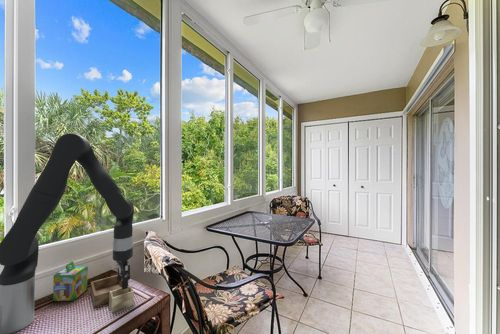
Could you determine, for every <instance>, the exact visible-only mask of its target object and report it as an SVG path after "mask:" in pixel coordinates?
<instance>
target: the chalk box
mask: <svg viewBox="0 0 500 334" xmlns="http://www.w3.org/2000/svg"><path fill="white" fill-rule="evenodd" d="M88 270H89V267H88V265H87V266H84V265H83V266H82V265H75V262H74V260H73V261H72V260H71V261H70V262H68V263H67V264H66V265H65V268H63V269H61V270H60V271H58V272H56V273H55V274H53V287H52V288H53V289H52V290H53V291H52V292H53V293H52V301H53V302H70V301H71V302H73V301H76V300H77V299H78V298H79V297H80V296H81V295H83V293H85V292H86V291H88V276H89V275H88V274H89V273H88V272H89V271H88Z"/></svg>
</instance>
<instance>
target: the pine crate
mask: <svg viewBox="0 0 500 334" xmlns="http://www.w3.org/2000/svg"><path fill="white" fill-rule="evenodd" d="M134 295H135V291H134V289H133V287H132V286H131V285H128V288H127V289H124V290H122V288H120V289H117V290H113V291H110V294H109V303H108V305H109V306H108V307H109V309H110V312H111V313H112V314H113V313H115V312H118V311H121V310H124V309H126V308H129V307H133V306H134Z"/></svg>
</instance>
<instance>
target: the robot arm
mask: <svg viewBox="0 0 500 334" xmlns="http://www.w3.org/2000/svg"><path fill="white" fill-rule="evenodd" d="M76 161H77V163H78V164H79V165H80V166H81V167H82V168H83V169H84V171H85V173H86V174H87V176H88V178H89V180H90V182H91V184H92V185H93V187H94V189H95V190H96V191H97V192H98V193H99V195H100V196H101V198H102V199H103V200H104V201H105V203H106V206H107V207H108V209H109V211H110V213H111V215H113V216H114V218H115V224H114V225H113V239H112V240H113V241H112V260H113V261H114V262H115V265H116V266H115V269H116V272H117V275H118V276H117V280H118V281H120V280H122V290H124V289H127V288H128V286H129V280H131V265H130V263H129V260H130V259H131V258H132V257H133V256H134V238H133V220H134V213H135V206H134V203H133V201H131V200H130V199H125V197H124V196H123V194H122V191H121V188H120V187H119V186H118V184H117V183H116V182H115V180H114V179H113V178H112V176H111V175H110V174H109V172H108V171H107V170H106V169H105V167H104V166H103V165H102V163H101V162H100V161H99V159H98V157H97V155H96V153H95V151H94V150H93V148H92V145H91V143H90V142H89V140H88V139H87V138H86V137H85V136H83V135H80V134H77V133H74V132H68V133H64V134H61V136H60V137H59V138H57V139H56V142H55V144H54V147H53V149H52V151H51V154H50V156H49V159H48V161H47V163H46V165H45V166H44V168H43V169H42V171H41V173H40V175H39V177H38V178H37V180H36V182H35V183H34V185H33V186H32V187H31V189H30V192H29V193H28V195H27V198H26V199H25V201H24V202H23V205H22V207H21V208H20V210H19V212H18V214H17V217H16V219H15V220H14V222H13V224H12V226H11V228H10V229H9V230H8V232H7V233H6V235H5V236H4V237H3V239H2V240H1V241H0V265H1V266H3V268H2V271H1V272H0V334H12V333H15V332H18V331H21V330H23V329H25V328H27V327H28V326H30V325H31V324H32V323H33V322H34V320H35V295H36V293H35V291H36V269H37V267H38V264H39V263H38V261H39V250H40V249H39V244H40V243H39V240H38V238H37V234H38V232H39V231H40V229H41V228H42V226H43V225H44V224H45V222H46V221H47V220H48V219H49V218H50V216H51V215H52V214H53V212H54V211H55V209H57V207H58V206H59V205H60V204H59V203H60V202H61V200H62V198H63V196H64V194H65V192H66V190H67V186H68V180H69V175H70V171H71V169H72V167H73V166H74V165H75V162H76Z"/></svg>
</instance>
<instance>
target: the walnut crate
mask: <svg viewBox="0 0 500 334" xmlns="http://www.w3.org/2000/svg"><path fill="white" fill-rule="evenodd" d="M117 276H118V274H116V275H112V276H109V277H104V278H101V279H97V280H94V281H90V296H91V299H92V305H93V308H94V309H96V308H98V307H101V306H104V305H107V304H108V305H109V294H110V291H113V290H117V289H120V288H122V280H120V281H118V280H117Z"/></svg>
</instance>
